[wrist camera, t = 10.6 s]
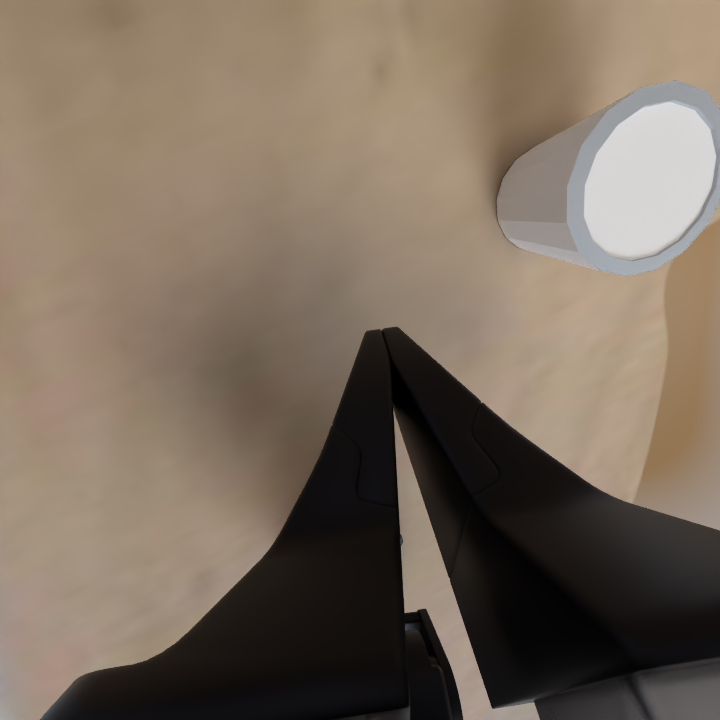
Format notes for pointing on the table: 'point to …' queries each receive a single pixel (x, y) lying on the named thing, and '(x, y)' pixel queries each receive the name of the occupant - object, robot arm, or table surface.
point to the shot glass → (619, 183)
